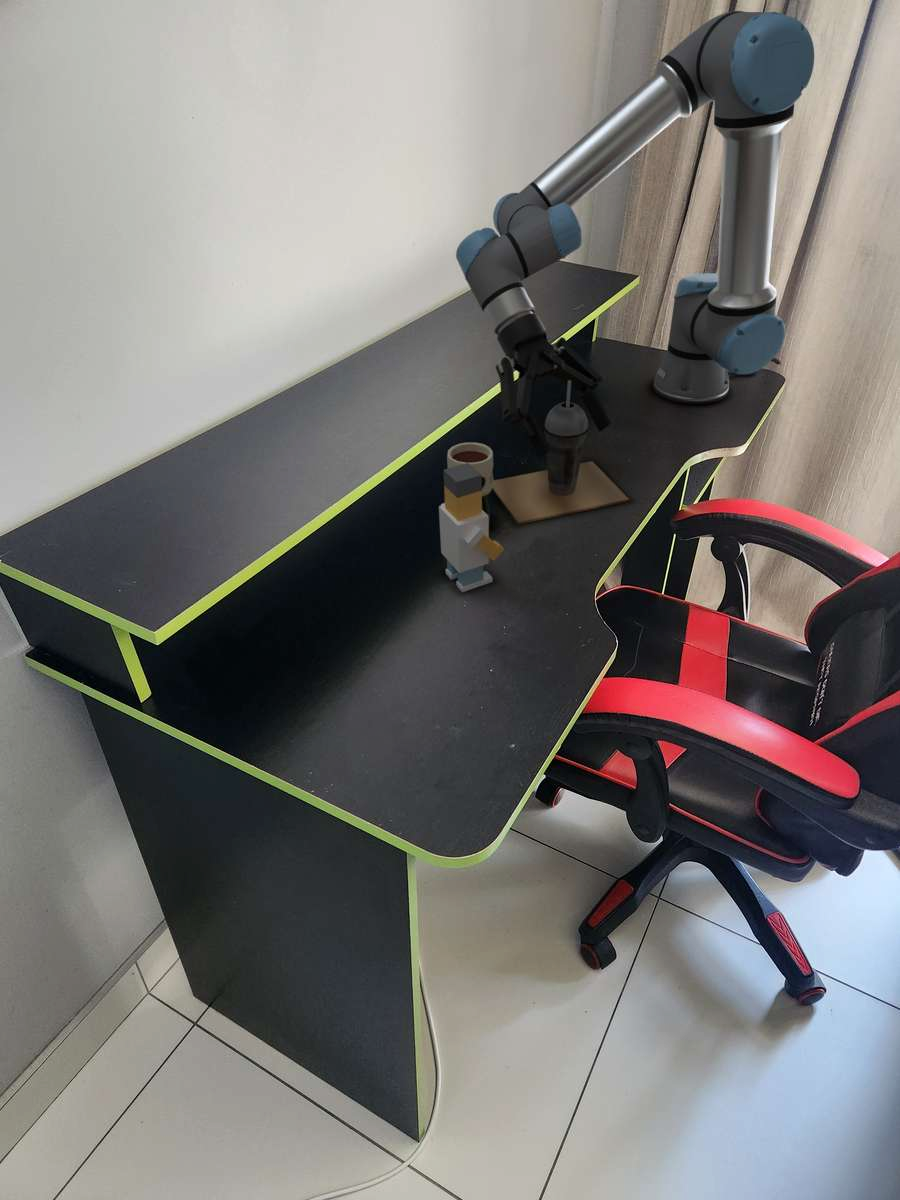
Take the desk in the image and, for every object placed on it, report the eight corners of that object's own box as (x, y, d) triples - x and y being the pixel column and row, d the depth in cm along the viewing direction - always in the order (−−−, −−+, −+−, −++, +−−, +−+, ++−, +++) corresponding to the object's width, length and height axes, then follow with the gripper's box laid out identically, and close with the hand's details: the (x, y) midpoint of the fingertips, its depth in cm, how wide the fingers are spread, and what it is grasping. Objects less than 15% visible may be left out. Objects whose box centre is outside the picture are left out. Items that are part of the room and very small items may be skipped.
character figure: (451, 556, 121) (446, 452, 109) (512, 573, 117) (514, 467, 105) (426, 584, 115) (419, 478, 104) (490, 603, 111) (490, 494, 100)
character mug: (468, 546, 122) (466, 474, 114) (433, 531, 126) (429, 460, 118) (508, 516, 129) (509, 445, 121) (474, 502, 133) (473, 433, 124)
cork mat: (591, 463, 142) (592, 460, 141) (628, 501, 131) (628, 498, 131) (488, 483, 137) (488, 481, 137) (518, 524, 127) (518, 522, 126)
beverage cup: (582, 478, 137) (591, 368, 124) (584, 500, 131) (594, 387, 118) (540, 477, 137) (545, 368, 125) (540, 499, 132) (545, 387, 119)
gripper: (559, 318, 135) (615, 426, 135) (445, 356, 124) (507, 474, 124) (583, 294, 129) (642, 408, 129) (466, 331, 117) (530, 456, 117)
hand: (576, 440), depth 126 cm, fingers open, 13 cm apart
